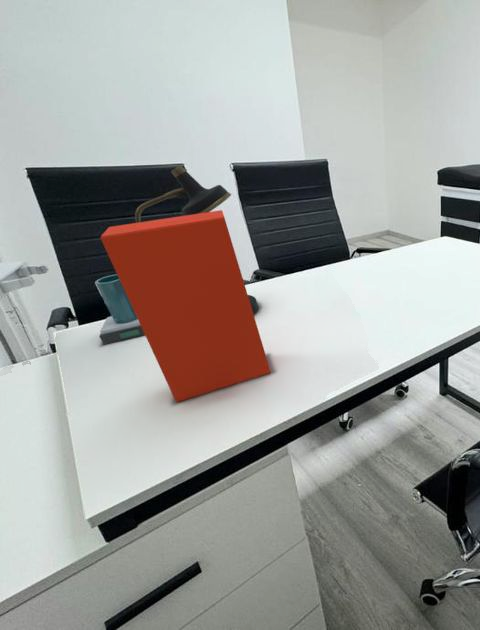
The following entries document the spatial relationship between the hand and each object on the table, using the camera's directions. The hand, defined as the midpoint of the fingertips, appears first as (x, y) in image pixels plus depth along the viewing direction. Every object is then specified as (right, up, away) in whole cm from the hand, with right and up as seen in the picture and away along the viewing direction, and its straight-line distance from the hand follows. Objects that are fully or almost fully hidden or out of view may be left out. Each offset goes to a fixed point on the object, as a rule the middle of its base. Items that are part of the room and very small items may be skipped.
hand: (40, 274), depth 88 cm
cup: (+11, -10, +12) cm, 19 cm away
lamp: (+33, -10, +18) cm, 38 cm away
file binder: (+47, -22, -9) cm, 53 cm away
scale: (+12, -13, +13) cm, 22 cm away
